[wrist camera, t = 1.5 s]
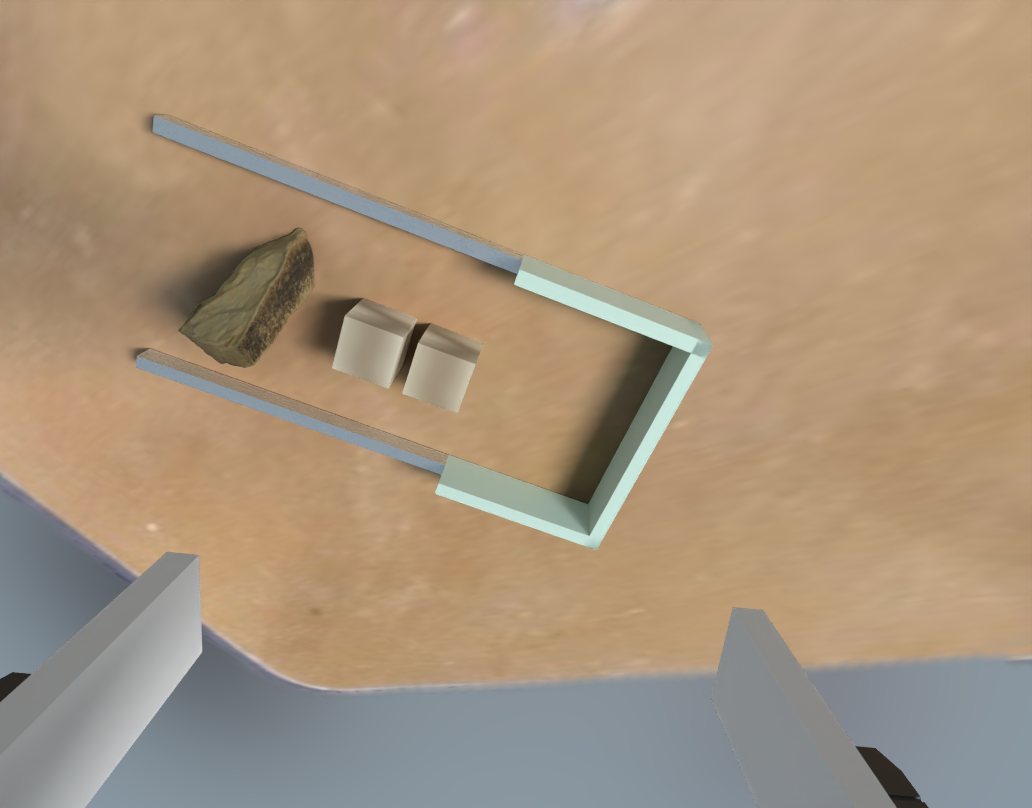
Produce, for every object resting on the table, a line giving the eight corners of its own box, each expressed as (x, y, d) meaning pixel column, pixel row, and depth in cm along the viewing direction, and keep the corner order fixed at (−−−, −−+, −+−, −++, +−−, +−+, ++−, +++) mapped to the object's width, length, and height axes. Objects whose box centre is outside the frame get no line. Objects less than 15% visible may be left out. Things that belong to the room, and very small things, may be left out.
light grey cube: (351, 346, 44) (332, 368, 40) (363, 297, 42) (344, 315, 39) (402, 365, 44) (388, 388, 41) (417, 317, 42) (403, 337, 39)
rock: (191, 377, 44) (310, 390, 42) (96, 345, 36) (238, 360, 34) (222, 245, 45) (338, 252, 43) (138, 186, 37) (275, 192, 35)
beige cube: (415, 370, 44) (402, 393, 41) (430, 322, 43) (418, 342, 39) (466, 388, 45) (457, 413, 41) (483, 342, 43) (475, 364, 39)
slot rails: (148, 359, 46) (136, 367, 44) (168, 114, 38) (153, 115, 36) (444, 464, 48) (441, 474, 46) (523, 254, 40) (522, 259, 38)
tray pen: (444, 464, 48) (434, 493, 44) (524, 254, 40) (519, 269, 36) (594, 517, 49) (596, 550, 45) (700, 323, 41) (713, 344, 37)
